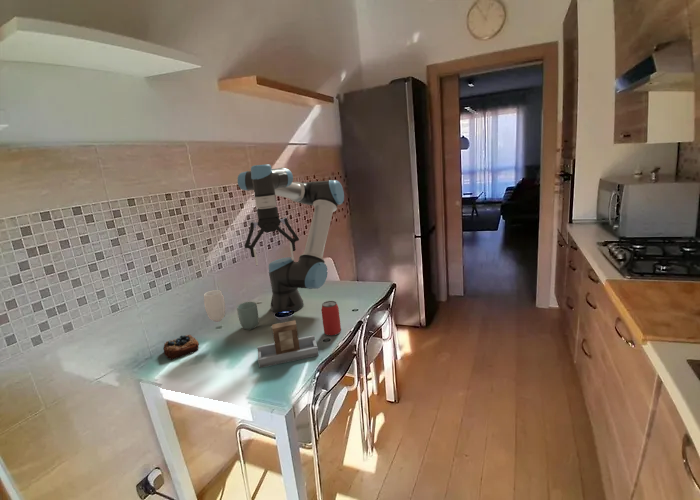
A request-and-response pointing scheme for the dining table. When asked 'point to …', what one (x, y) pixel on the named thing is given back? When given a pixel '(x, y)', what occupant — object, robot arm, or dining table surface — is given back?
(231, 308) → the dining table surface
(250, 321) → the cup
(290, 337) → the frame
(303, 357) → the grey trough
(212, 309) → the cup
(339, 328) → the beer can
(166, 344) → the pastry
